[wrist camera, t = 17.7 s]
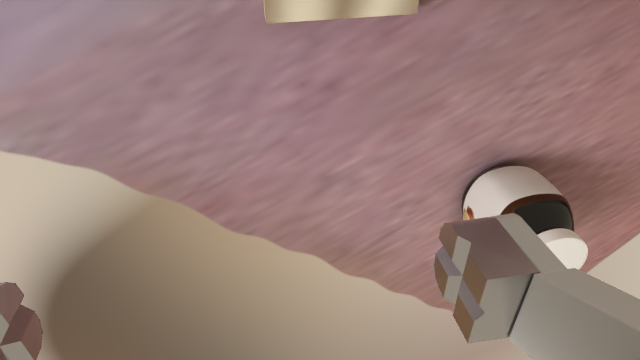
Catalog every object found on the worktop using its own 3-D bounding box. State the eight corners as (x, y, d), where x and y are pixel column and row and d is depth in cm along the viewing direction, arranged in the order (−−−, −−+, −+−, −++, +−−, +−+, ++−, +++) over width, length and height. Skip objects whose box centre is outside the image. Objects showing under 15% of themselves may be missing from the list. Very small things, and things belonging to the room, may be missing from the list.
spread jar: (468, 158, 45) (530, 229, 36) (563, 149, 47) (647, 214, 37) (449, 241, 52) (497, 318, 42) (532, 230, 53) (596, 302, 44)
